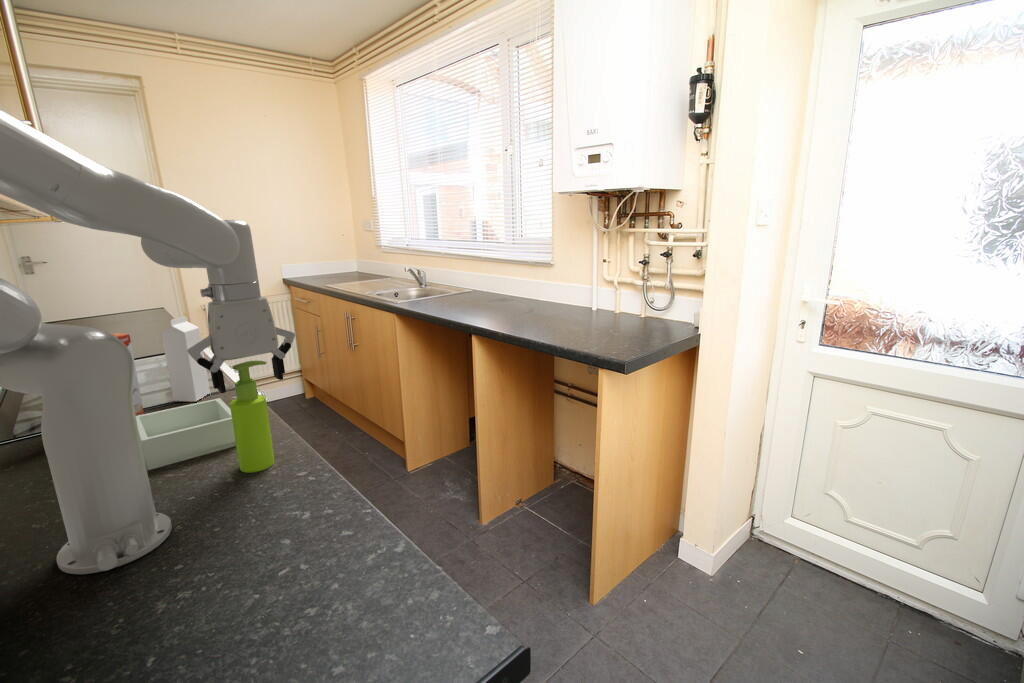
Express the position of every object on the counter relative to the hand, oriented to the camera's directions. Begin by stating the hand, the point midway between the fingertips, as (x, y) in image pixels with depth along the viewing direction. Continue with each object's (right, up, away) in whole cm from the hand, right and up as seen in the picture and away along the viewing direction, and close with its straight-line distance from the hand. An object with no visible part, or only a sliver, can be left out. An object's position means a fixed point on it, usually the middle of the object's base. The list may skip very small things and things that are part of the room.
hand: (251, 384), depth 88 cm
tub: (-20, -14, +12) cm, 27 cm away
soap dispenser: (0, -16, +3) cm, 16 cm away
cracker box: (-44, -12, +21) cm, 50 cm away
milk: (-37, -8, +39) cm, 54 cm away
